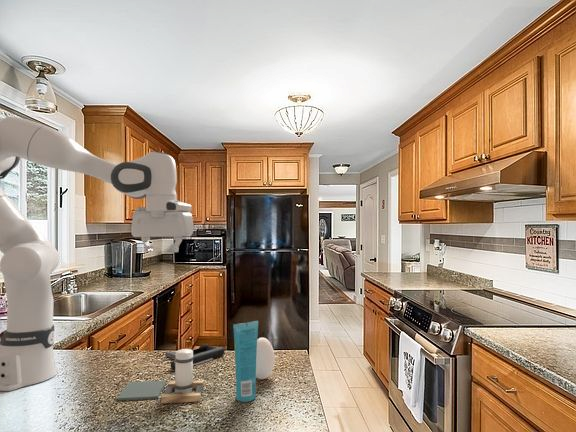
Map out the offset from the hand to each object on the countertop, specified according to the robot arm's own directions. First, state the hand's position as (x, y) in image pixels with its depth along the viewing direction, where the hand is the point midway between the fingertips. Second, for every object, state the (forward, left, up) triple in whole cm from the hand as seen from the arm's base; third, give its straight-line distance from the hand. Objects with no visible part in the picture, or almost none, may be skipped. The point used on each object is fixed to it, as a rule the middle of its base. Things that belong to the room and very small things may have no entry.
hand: (161, 252), depth 111 cm
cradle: (+9, -14, -36) cm, 40 cm away
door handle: (+7, +14, -37) cm, 40 cm away
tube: (+25, -18, -37) cm, 48 cm away
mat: (-2, -11, -36) cm, 38 cm away
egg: (+30, -6, -37) cm, 48 cm away
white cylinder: (+9, -14, -36) cm, 40 cm away
